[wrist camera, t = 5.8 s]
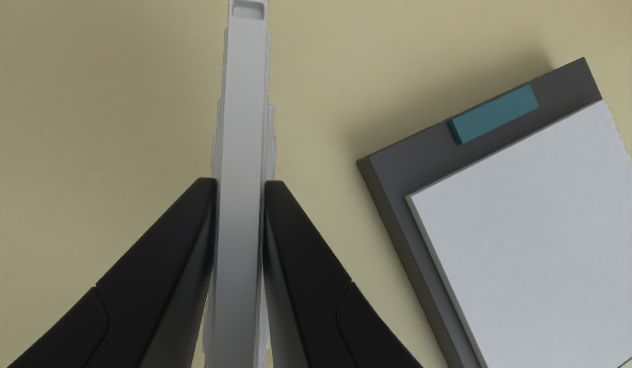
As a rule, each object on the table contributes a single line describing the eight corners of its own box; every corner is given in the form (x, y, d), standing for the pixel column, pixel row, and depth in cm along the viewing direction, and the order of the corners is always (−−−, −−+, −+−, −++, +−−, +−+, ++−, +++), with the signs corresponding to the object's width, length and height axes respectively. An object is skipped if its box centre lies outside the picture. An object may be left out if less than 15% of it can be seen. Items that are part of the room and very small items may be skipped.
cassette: (259, 373, 14) (272, 556, 7) (214, 376, 14) (173, 574, 6) (269, 98, 15) (290, -10, 8) (227, 94, 15) (205, -24, 7)
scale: (657, 302, 25) (711, 315, 22) (477, 431, 21) (514, 466, 18) (555, 69, 24) (597, 50, 22) (355, 161, 21) (372, 153, 18)
